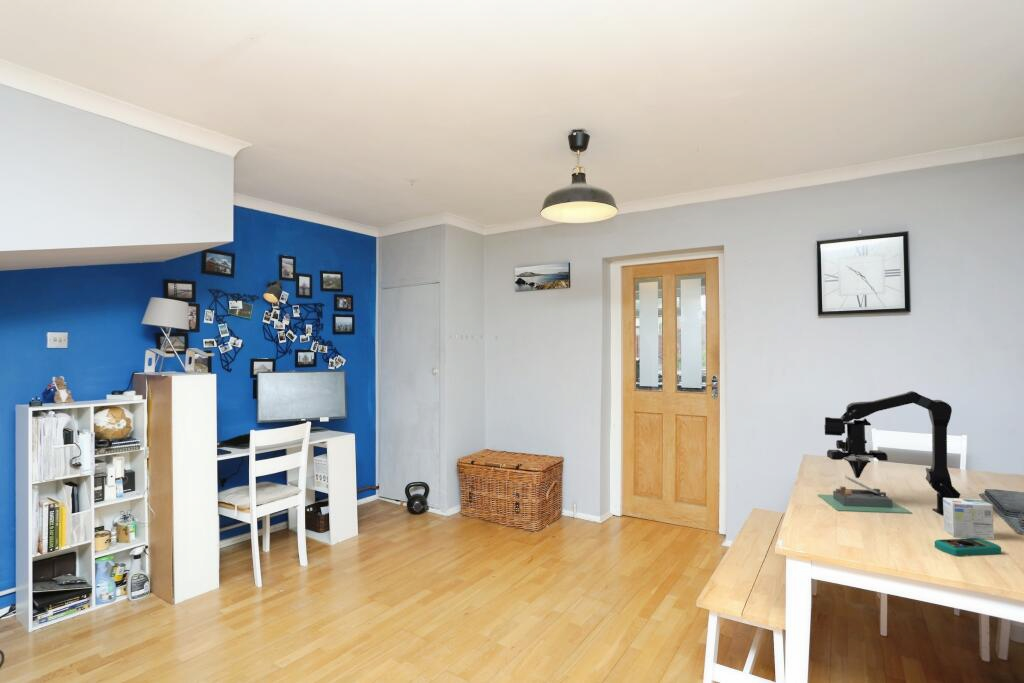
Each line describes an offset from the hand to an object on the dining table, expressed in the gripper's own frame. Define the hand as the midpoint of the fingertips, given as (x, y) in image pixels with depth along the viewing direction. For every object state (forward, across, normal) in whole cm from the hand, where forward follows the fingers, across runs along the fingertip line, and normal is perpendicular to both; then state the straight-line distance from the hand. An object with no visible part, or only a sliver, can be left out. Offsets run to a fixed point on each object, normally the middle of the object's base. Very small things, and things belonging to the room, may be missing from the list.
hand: (857, 477), depth 200 cm
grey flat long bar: (+3, -1, 0) cm, 3 cm away
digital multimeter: (+10, -11, +44) cm, 46 cm away
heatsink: (+10, -1, 0) cm, 10 cm away
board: (+10, -1, 0) cm, 10 cm away
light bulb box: (+10, -19, +30) cm, 37 cm away
